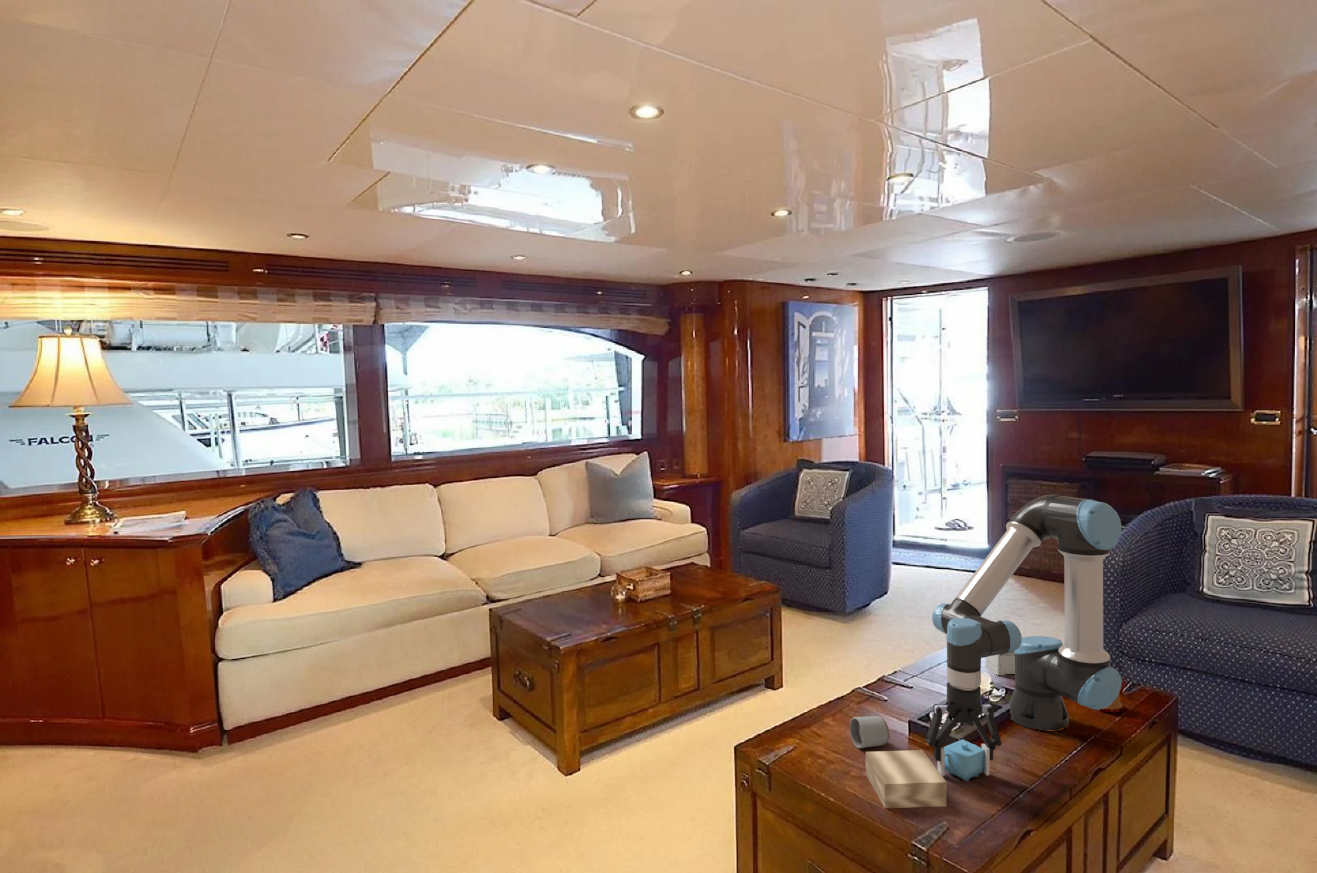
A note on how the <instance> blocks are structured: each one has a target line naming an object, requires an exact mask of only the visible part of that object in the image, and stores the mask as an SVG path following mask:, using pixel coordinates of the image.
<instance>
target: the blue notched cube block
mask: <svg viewBox="0 0 1317 873" xmlns="http://www.w3.org/2000/svg"><path fill="white" fill-rule="evenodd" d="M943 748H944V750H945V771H947V772H948V773H949V774H951V775H954V776H957V777H959V778H960V779H961V780H963V781H964V782H969V781H970V779H971V778H973V777H976V778H978V777H979V776H980V774H981V773H984V749H982V747H980V746H978V745H977V744H974V743H971V742H969V741H967V740H965V739H960V740H957V741H955V742H953V743H950V744H948V745H945V746H944V747H943Z"/></svg>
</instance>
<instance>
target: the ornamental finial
mask: <svg viewBox="0 0 1317 873" xmlns="http://www.w3.org/2000/svg"><path fill="white" fill-rule="evenodd" d="M1121 707H1122V708H1123V704H1122V702H1121V701H1120V693H1119V694H1118V696H1117V698H1116V699H1115V700H1114V702H1113V703H1112V704H1111V705H1109V706H1108V707H1106V708H1104V709H1111V710H1113V709H1119V708H1121Z"/></svg>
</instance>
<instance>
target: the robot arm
mask: <svg viewBox="0 0 1317 873" xmlns="http://www.w3.org/2000/svg"><path fill="white" fill-rule="evenodd" d="M1005 527H1006V531H1005V532H1004V534H1003V535H1002V536H1001V538H1000V539H999V540H998V542H997V543H996V544H995V545H994V546H993V548H992V549H991V551H989V553H988V554H987V556H986V557H985V559H984V560H983V561H982V562H981V564H980V565H979V566H978V568H977V569H976V570H975V572H973V574H972V576H971V577H970V578H969V579H968V581H966V583H965V584H964V585H963V587H962V588H961V590H960V591H959V592H958V594H957V596H956V597H955V598H954V599H953V600H952V602H951V603H941V604H938V605H937V606H936V607H935V609H934V610H933V612H932V616H931V617H932V618H931V620H932V624H933V626H934V628H935V629H936V630H937V631H939V632H942V633H943V634H945V635H946V638H945V639H946V681H947V682H946V701H945V704H943V705H941V704H940V705H938V703H934V704H933V707H932V708H933V714H932V717H931V720H930V724H929V727H928V730H927V735H926V738H925V742H926V743H927V744H928V746H929V747H931V748H933V757H934V759H935V761H936V762H937V770H938V771H939V773H940V774H941V775H942V777H945V776H946V770H945V750H944V747H943V746H944V745H945V743H946V742H947V739H948V738H949V736H950V735H951V733H952V731H953V729H954V728H955V727H957V726H958V724H965V723H968V724H972V723H973V724H974V726H975V728H976V730H977V732H978V734H979V735H980V737H981V738H982V740H983V741H984V743H981V748H982V749H984V772H983V774H985V776H990V761H993V760H994V751H995V750H996V747H1000V746H1002V743H1003V742H1002V740H1001V737H1000V734H999V730H998V726H997V723H996V719H995V716H994V715H995V708H994V707H993V706H992V705H991V704H990V703H989V702H986V703H985V704H982V703H981V701H982V700H981V697H982V696H981V694H982V693H981V692H982V691H981V690H982V689H981V683H982V678H981V677H982V676H981V675H982V674H981V673H982V670H981V669H982V658H984V659H985V658H986V657H988V656H994V655H999V654H1005V653H1006V654H1007V653H1009V652H1011V651H1015V675H1014V690H1013V692H1012V695H1011V697H1010V700H1009V702H1008V705H1010V713H1011V718H1010V720H1012V721H1013V722H1015V723H1016V724H1017V725H1020V726H1021V727H1025V728H1026V729H1027V728H1028V729H1031V728H1035V729H1041V730H1058V729H1061V728H1065V727H1066V726H1067V725H1068V724H1069V723H1070V721H1069V719H1070V718H1069V713H1068V711H1067V708H1066V704H1065V702H1064V699H1063V697H1064V698H1066V699H1069V701H1073V702H1075V703H1077V704H1078V705H1080V706H1081V707H1087V708H1090V709H1092V710H1097V711H1100V709H1104V708H1106V707H1108V706H1109V705H1111V704H1112V703H1113V702H1114V700H1115V699H1116V698H1117V696H1118V694H1119V695H1120V691H1121V688H1122V683H1123V681H1122V676H1121V674H1120V673H1119V671H1118V670H1117V669H1115V668H1114V667H1112V666H1111V655H1110V654H1109V653H1108V652H1107V651H1106V650H1105V649H1104V558H1106V557H1108V556H1109V555H1110V553H1111V549H1113V548H1115V547H1116V545H1118V543H1119V542H1120V541H1119V539H1120V538H1121V536H1122V522H1121V518H1120V516H1119V514H1118V512H1117V511H1116V510H1115V509H1114V508H1113V507H1112V506H1111V505H1109V504H1108V503H1106V502H1101V501H1097V500H1094V499H1091V498H1090V499H1088V498H1082V497H1080V498H1079V497H1074V496H1066V495H1060V494H1045V495H1042V496H1039V497H1036V498H1034V499H1033V500H1031V501H1029V502H1027V503H1026V504H1025V505H1024V506H1022V507H1021V508H1019V509H1018V510H1017V511H1016V512H1015V514H1014V515H1012V516H1011V517H1010V519H1009V520H1008V522H1007V523H1006V524H1005ZM1049 538H1050V539H1051V538H1052V539H1054V540H1057V542H1056V543H1057V551H1058V552H1059V553H1060V554H1061V555H1062V556H1063V564H1064V566H1063V568H1064V570H1063V572H1064V576H1063V577H1064V578H1063V580H1064V644H1063V642H1062V640H1061V639H1059V638H1056V637H1051V636H1044V635H1030V636H1024V637H1022V633H1021V631H1020V629H1019V627H1018V626H1017V625H1016V624H1015V623H1014V622H1013V621H1011V620H1007V619H1006V620H1002V619H1001V620H999V619H998V620H997V621H993V620H991V619H988V618H986V617H983V614H984V613H985V612H986V610H987V609H988V607H989V606H990V605H991V603H993V601H994V600H995V598H996V597H997V596H998V594H999V593H1000V591H1001V590H1002V589H1003V587H1004V586H1005V585H1006V584H1007V582H1008V581H1009V580H1010V578H1011V577H1012V576H1013V575H1014V574H1015V572H1016V570H1017V569H1018V568H1019V566H1020V565H1021V564H1022V562H1023V561H1024V560H1025V559H1026V558H1027V556H1028V554H1029V553H1030V552H1031V550H1032V549H1033V548H1038V547H1040V546H1041V544H1042V543H1043V542H1044V541H1045V540H1046V539H1049ZM946 712H947V713H948V714H947V715H946V717H945V720H944V722H943V724H942V720H943V716H945V713H946ZM981 713H983V714H984V717H985V720H986V722H987V726H988V729H989V734H990V736H989V735H988V733H987V732H986V730H985V728H984V726H983V725H982V723H981V721H980V720H979V717H978V716H979V715H980V714H981ZM941 724H942V726H941ZM1069 725H1070V724H1069ZM1069 725H1068V726H1069ZM940 727H941V728H940ZM1035 729H1034V730H1035ZM990 737H991V738H990Z"/></svg>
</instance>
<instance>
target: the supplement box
mask: <svg viewBox="0 0 1317 873" xmlns="http://www.w3.org/2000/svg"><path fill="white" fill-rule="evenodd" d="M985 668H986V669H987V670H989V671H990V670H991V671H992V672H991V673H993V674H994V675H996V674H997V675H1001V676H1006V675H1005V674H1015V651H1011V652H1009V653H1007V654H1006V653H1005V654H999V655H994V656H988V657H985ZM997 675H996V676H997Z"/></svg>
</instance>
